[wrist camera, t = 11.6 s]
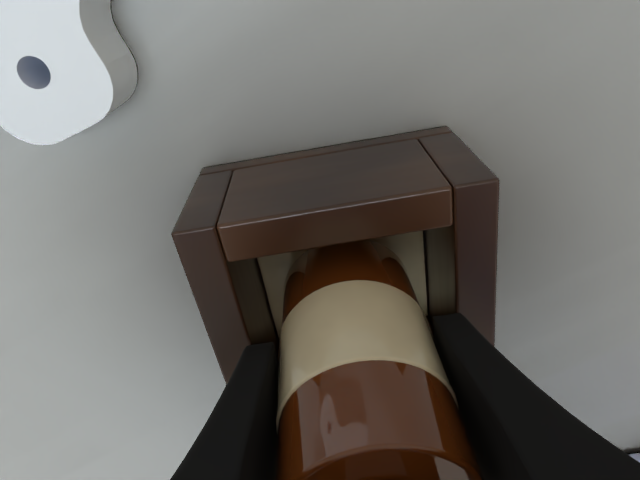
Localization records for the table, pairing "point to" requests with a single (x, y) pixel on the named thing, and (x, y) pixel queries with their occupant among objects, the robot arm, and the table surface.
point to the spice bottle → (363, 375)
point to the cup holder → (340, 229)
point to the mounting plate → (60, 67)
